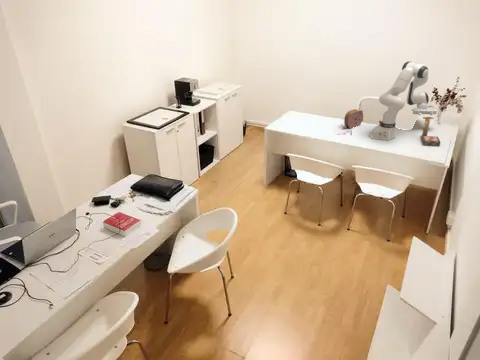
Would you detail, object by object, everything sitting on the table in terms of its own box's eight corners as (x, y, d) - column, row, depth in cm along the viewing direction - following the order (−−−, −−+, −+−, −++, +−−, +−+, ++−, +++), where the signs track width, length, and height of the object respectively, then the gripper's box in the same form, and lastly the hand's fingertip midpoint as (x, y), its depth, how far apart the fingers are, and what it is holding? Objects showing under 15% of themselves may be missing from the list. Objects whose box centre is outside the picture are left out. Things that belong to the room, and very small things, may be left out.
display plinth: (422, 145, 309) (423, 141, 307) (420, 140, 319) (421, 135, 317) (439, 146, 305) (440, 141, 303) (436, 140, 315) (437, 136, 313)
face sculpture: (348, 129, 350) (349, 113, 342) (343, 127, 355) (344, 111, 347) (362, 125, 358) (364, 109, 350) (357, 123, 363) (359, 107, 355)
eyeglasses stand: (419, 138, 321) (423, 118, 311) (418, 135, 327) (422, 115, 317) (429, 139, 319) (434, 118, 309) (428, 136, 325) (432, 115, 315)
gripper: (411, 105, 337) (413, 110, 325) (435, 106, 331) (438, 111, 320) (410, 112, 340) (412, 117, 328) (434, 112, 334) (437, 117, 323)
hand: (425, 114), depth 324 cm, fingers open, 8 cm apart
